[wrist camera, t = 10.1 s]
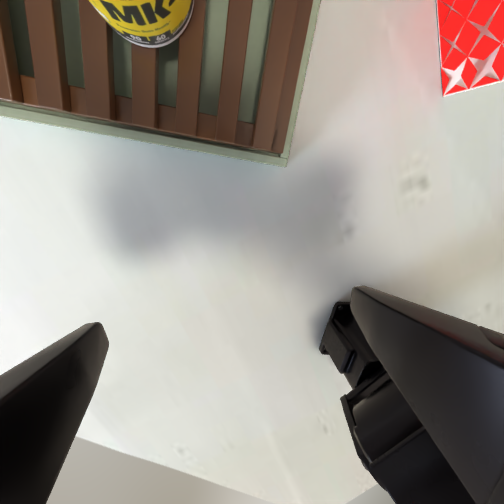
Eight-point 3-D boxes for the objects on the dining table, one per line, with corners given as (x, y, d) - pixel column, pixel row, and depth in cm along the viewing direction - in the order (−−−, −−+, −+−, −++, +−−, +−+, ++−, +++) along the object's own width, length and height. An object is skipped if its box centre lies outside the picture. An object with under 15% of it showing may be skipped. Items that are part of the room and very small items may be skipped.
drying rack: (322, -82, 13) (344, -131, 11) (277, 153, 17) (286, 153, 15) (-61, -236, 10) (-143, -350, 7) (1, 101, 14) (-39, 91, 12)
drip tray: (333, -88, 13) (344, -110, 12) (282, 166, 18) (286, 167, 17) (-72, -254, 10) (-109, -306, 9) (-1, 116, 15) (-19, 112, 14)
